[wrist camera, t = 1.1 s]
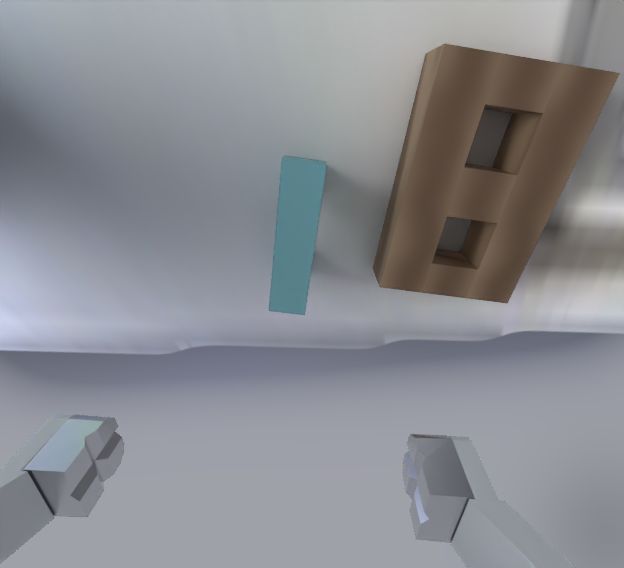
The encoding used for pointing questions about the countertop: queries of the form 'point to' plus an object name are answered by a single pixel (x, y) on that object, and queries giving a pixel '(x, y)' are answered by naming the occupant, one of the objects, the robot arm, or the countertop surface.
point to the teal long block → (296, 232)
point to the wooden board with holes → (483, 169)
